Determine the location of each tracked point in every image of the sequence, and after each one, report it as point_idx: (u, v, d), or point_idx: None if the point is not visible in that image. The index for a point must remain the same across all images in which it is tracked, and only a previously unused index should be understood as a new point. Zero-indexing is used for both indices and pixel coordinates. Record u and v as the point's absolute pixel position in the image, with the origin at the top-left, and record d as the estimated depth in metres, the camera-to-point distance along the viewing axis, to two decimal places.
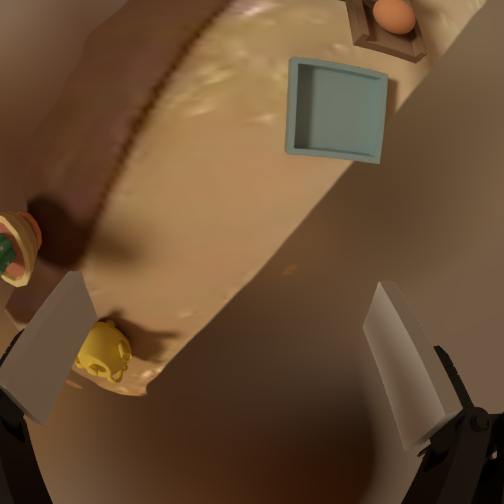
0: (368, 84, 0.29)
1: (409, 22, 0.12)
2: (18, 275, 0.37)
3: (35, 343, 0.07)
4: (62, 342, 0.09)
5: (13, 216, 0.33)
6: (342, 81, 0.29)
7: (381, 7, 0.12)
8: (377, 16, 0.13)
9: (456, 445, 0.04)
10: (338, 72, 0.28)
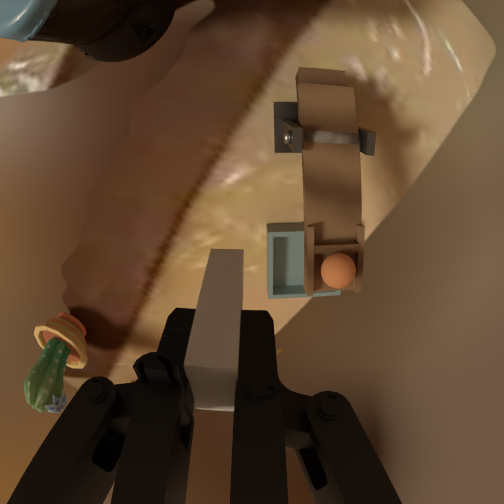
0: None
1: None
2: (73, 361, 0.53)
3: None
4: None
5: (62, 325, 0.49)
6: None
7: (325, 276, 0.26)
8: None
9: (233, 425, 0.06)
10: None
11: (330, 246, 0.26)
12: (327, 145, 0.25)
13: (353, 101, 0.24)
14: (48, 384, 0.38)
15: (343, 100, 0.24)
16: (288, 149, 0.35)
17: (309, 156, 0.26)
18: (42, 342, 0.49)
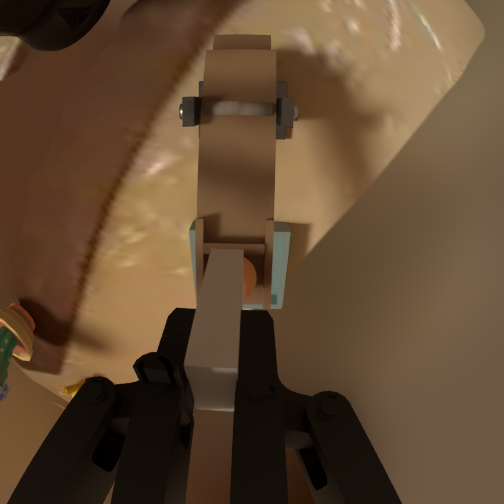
0: (274, 236, 0.37)
1: None
2: (21, 352, 0.45)
3: None
4: None
5: (10, 315, 0.41)
6: None
7: None
8: None
9: (233, 425, 0.06)
10: None
11: (224, 245, 0.21)
12: (231, 118, 0.20)
13: (273, 65, 0.19)
14: None
15: (260, 65, 0.19)
16: None
17: (207, 131, 0.20)
18: None
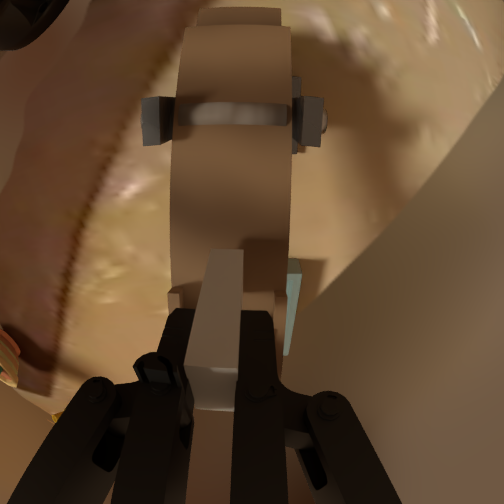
0: None
1: None
2: (8, 378, 0.37)
3: None
4: None
5: None
6: None
7: None
8: None
9: (233, 425, 0.06)
10: None
11: None
12: (221, 129, 0.13)
13: (287, 48, 0.12)
14: None
15: (267, 47, 0.12)
16: None
17: (182, 152, 0.13)
18: None
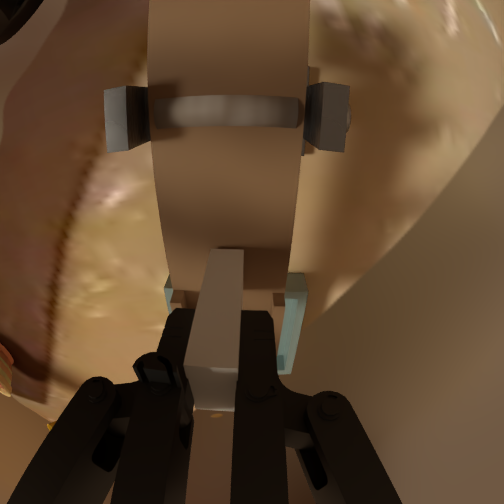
0: None
1: None
2: (2, 387, 0.34)
3: None
4: None
5: None
6: None
7: None
8: None
9: (234, 425, 0.06)
10: None
11: None
12: (211, 132, 0.10)
13: (304, 12, 0.07)
14: None
15: (273, 10, 0.07)
16: None
17: (166, 162, 0.10)
18: None
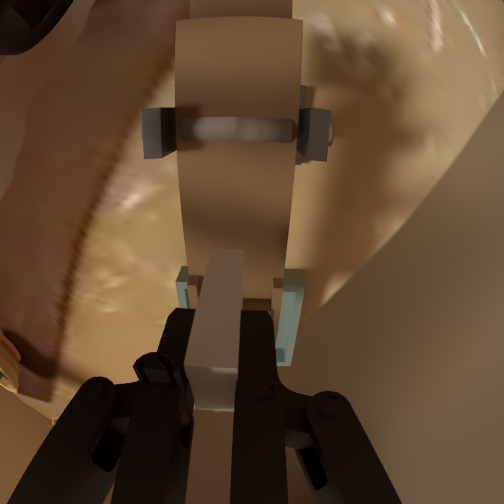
0: None
1: None
2: (8, 383, 0.37)
3: None
4: None
5: None
6: None
7: None
8: None
9: (233, 425, 0.06)
10: None
11: None
12: (225, 146, 0.13)
13: (297, 50, 0.10)
14: None
15: (273, 48, 0.10)
16: None
17: (188, 168, 0.14)
18: None
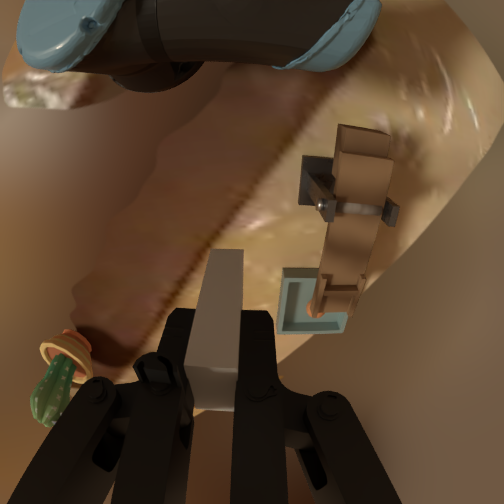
0: None
1: (321, 314, 0.45)
2: (77, 376, 0.53)
3: None
4: None
5: (70, 343, 0.49)
6: None
7: (308, 309, 0.45)
8: (307, 312, 0.46)
9: (233, 426, 0.06)
10: None
11: (336, 291, 0.33)
12: (353, 216, 0.29)
13: (389, 175, 0.26)
14: (56, 401, 0.39)
15: (380, 174, 0.26)
16: (311, 202, 0.38)
17: (335, 224, 0.29)
18: (47, 356, 0.49)
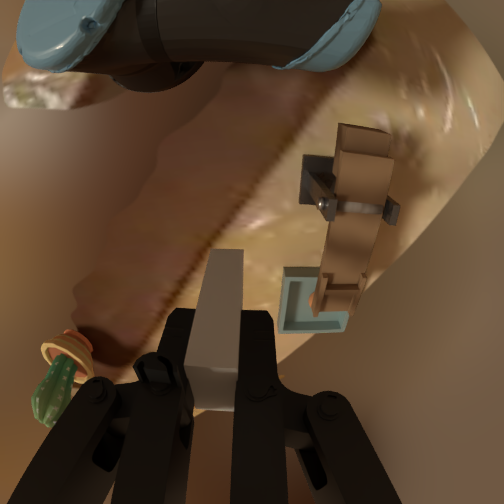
0: None
1: None
2: (79, 376, 0.53)
3: None
4: None
5: (71, 343, 0.49)
6: None
7: (310, 298, 0.45)
8: (310, 303, 0.45)
9: (233, 425, 0.06)
10: None
11: (337, 290, 0.33)
12: (354, 214, 0.29)
13: (390, 174, 0.26)
14: (57, 401, 0.39)
15: (381, 173, 0.26)
16: (312, 201, 0.38)
17: (336, 223, 0.29)
18: (48, 357, 0.49)
